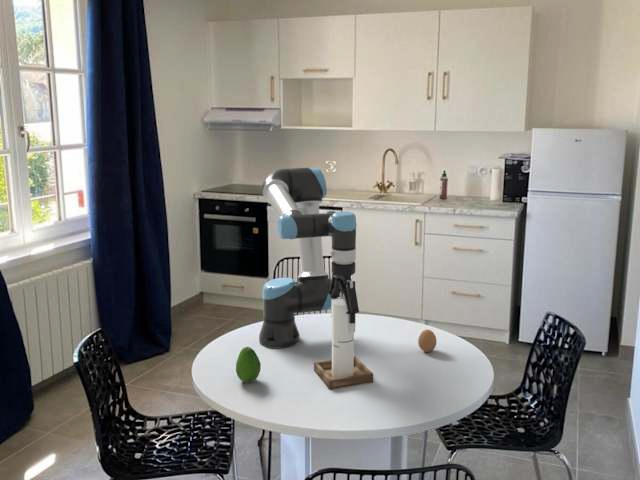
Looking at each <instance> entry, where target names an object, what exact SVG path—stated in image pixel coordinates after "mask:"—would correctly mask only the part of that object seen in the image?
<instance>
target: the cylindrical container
mask: <svg viewBox="0 0 640 480" xmlns="http://www.w3.org/2000/svg"><path fill="white" fill-rule="evenodd" d="M337 298H338V299H334V300H333V301H332V318H331V360H332V376H333V377H335V378H342V377H348V376H353V375H354V356H355V332H351V333H347V332H346V326H347V314H346V312H347V311H348V310H347V306H346V302H345V298H343V297H342V298H341V297H337Z"/></svg>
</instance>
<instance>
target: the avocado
mask: <svg viewBox="0 0 640 480" xmlns="http://www.w3.org/2000/svg"><path fill="white" fill-rule="evenodd" d="M260 372H261V360H260V359H259V356H258V355H257V353H256V352H255V350H254V349H253V348H252V347H250V346H245V347H242V349H241V350H240V352H239V353H238V357H237V359H236V363H235V373H236V375H237V378H238V379H239V380H240V381H241V382H243V383H246V384H247V383H252V382H254V381H255V380H256V379H258V377H259V376H260Z"/></svg>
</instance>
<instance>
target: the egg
mask: <svg viewBox="0 0 640 480" xmlns="http://www.w3.org/2000/svg"><path fill="white" fill-rule="evenodd" d="M417 340H418V341H417V342H418V346H419V348H420V350H421V351H422V352H425V353H430V352H433V350H434V349H435V348H436V346H437V337H436V335H435V333H434V332H433V331H432V330H431V329H424V330H422V331H421V333H420V334H419V336H418V339H417Z"/></svg>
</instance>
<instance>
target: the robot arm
mask: <svg viewBox="0 0 640 480" xmlns="http://www.w3.org/2000/svg"><path fill="white" fill-rule="evenodd" d="M327 189H328V188H327V181H326V178H325V175H324V173H323V172H322V170H321V169H320V168H318V167H310V166H309V167H300V168H299V167H297V168H293V167H292V168H280V169H276V170H274V171H272V172H270V173H269V174H268V175H267V176H266V177H265V178H264V179H263V181H262V184H261V195H262V196H263V199H264V200H265V201H266V202H267V203H268V204H270V205H271V206H270V207H272V209H273V211H274V213H275V214H276V216H277V217H278V219H277V222H276V223H277V232H278V236H279V238H280V239H283V240H295V239H298V246H299V258H300V273H299V275H298V276H297V281H295V280H294V279H293V278H291V277H278V278H274V279H270V280H269V281H267V282H265V283H264V285H263V287H262V296H261V297H262V310H263V315H262V316H263V317H262V318H263V322H262V326H261V329H260V331H259V337H258V340H259V341H258V342H259V344H260V345H262V346H263V347H266V348H271V349H286V348H291V347H294V346H296V345H297V344H299V343H300V341H301V338H300V332H299V329H298V326H297V323H296V320H295V319H296V318H295V315H296V314H301V313H303V314H304V313H313V312H322V311H328V310H330V317H331V319H332V301H333V300H334V299H338V298H341V295H340V294H342V295H343V297H344V298H345V302H346V306H347V310H348V311H347V312H346V314H347V326H346V332H347V333H351V332H354V333H356V320H357V319H356V314H359V313H360V308H359V303H358V296H357V290H356V281H355V280H352V278H351V276H353V275H354V274H355V273H356V259H357V247H356V246H357V245H356V244H357V242H356V241H357V225H358V224H357V215H356V214H355V213H354V212H351V211H334V210H327V211H324V212H323V213H320V206H321V205H322V204H323V199H324V198H326V197H327ZM322 237H325V238H327V237H331V251H330V255H331V261H332V262H331V278H330V277H329V273H327V272H326V270H325V267H324V255H323V253H324V251H323V243H322V240H323V239H322Z"/></svg>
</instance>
